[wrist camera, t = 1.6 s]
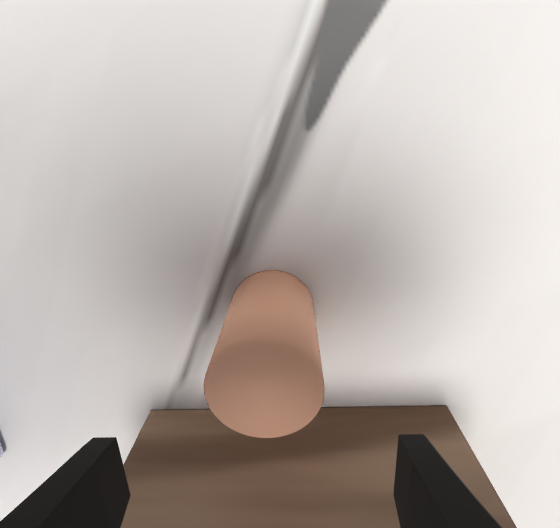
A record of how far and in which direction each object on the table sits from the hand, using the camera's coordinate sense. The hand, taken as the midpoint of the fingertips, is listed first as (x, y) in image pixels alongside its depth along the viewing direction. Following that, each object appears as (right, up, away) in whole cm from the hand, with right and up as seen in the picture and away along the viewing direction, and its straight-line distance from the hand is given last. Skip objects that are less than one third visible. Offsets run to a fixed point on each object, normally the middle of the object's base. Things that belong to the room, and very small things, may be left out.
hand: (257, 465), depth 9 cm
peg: (0, +3, +8) cm, 9 cm away
